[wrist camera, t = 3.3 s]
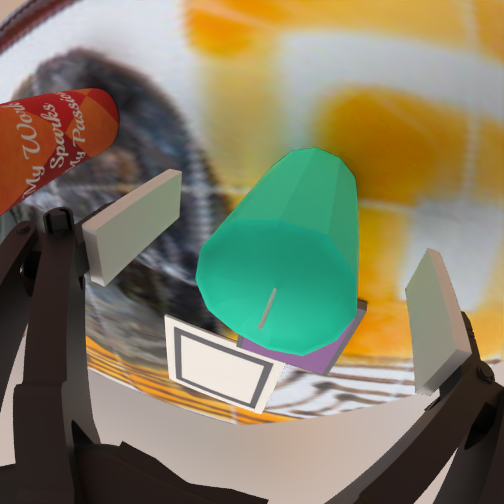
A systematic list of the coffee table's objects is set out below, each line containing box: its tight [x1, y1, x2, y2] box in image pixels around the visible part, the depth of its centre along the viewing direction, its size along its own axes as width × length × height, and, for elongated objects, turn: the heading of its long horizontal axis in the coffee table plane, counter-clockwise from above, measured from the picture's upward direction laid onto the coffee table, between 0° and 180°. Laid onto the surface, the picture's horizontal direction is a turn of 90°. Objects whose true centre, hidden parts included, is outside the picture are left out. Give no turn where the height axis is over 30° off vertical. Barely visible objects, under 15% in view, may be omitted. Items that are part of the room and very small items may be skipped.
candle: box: [195, 148, 359, 356], centre depth 14 cm, size 6×6×12 cm
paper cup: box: [0, 88, 119, 216], centre depth 15 cm, size 8×8×14 cm
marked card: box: [165, 314, 286, 414], centre depth 33 cm, size 13×13×1 cm
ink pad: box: [236, 299, 367, 376], centre depth 25 cm, size 9×9×1 cm
